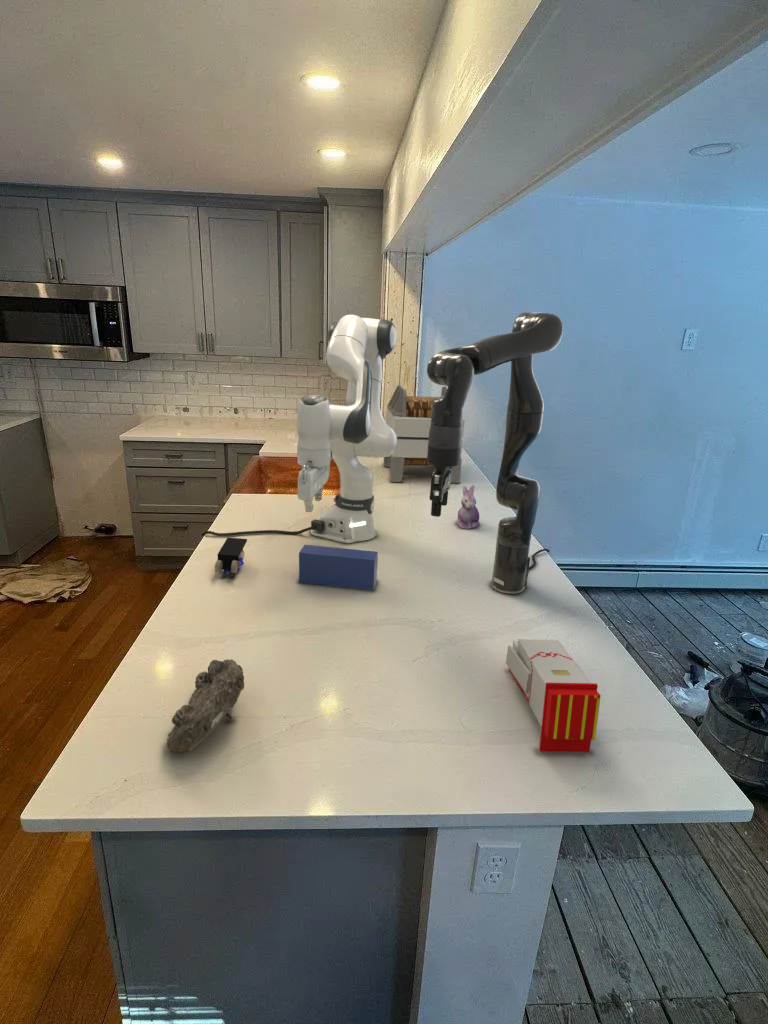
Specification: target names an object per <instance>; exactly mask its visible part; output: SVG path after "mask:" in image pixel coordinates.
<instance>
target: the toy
mask: <svg viewBox="0 0 768 1024" xmlns="http://www.w3.org/2000/svg"><path fill="white" fill-rule="evenodd" d="M505 659H506V660H505V665H506V666H507V667H508V671H509V673H510V674H511V676H512V678H513V679H514V681H515V682H516V685H517V686H518V688H519V690H520V691H521V692H522V694H523V697H525V699H526V701H527V703H529V707H530V709H531V711H532V712H533V714H534V716H535V718H536V720H537V722H538V724H539V726H540V728H541V729H540V739H539V748H538V751H539V752H540V753H543V752H544V753H590V752H591V744H592V743H591V742H592V740H596V736H597V727H598V720H599V719H598V718H599V710H600V704H601V703H600V702H601V696H602V695H601V694H600V693H599V692H598V687H599V686H598V683H595V682H594V683H592V682H591V681H590V679H589V678H588V677H587V676H586V674H585V673H584V671H583V670H582V669H581V668H580V666H579V665H578V664H577V663H576V662H575V661H576V660H574V659H573V658H572V656H571V655H570V653H568V651H567V650H566V648H565V647H564V645H563V644H562V643H561V642H560V641H559V639H529V638H528V639H524V638H521V639H517V640H512V645H511V644H510V645H509V644H508V646H507V653H506V658H505Z"/></svg>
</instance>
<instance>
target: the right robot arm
mask: <svg viewBox="0 0 768 1024" xmlns="http://www.w3.org/2000/svg"><path fill="white" fill-rule="evenodd" d="M511 330H512V331H511V332H509V333H502V334H496V335H493V336H488V337H485V338H482V339H480V340H477V341H474V342H473V343H470V344H468V345H465V346H464V345H463V346H458V347H454V348H453V347H452V348H449V349H444V350H442V351H439V352H437V353H436V354H434V355H433V356H432V357H431V358H430V360H429V361H428V363H427V366H426V374H427V377H428V378H429V380H430V382H432V383H434V384H435V385H439V386H443V387H447V392H446V394H445V396H442V397H441V396H436V397H437V398H435V399H434V400H433V403H432V412H431V424H430V430H429V438H428V452H427V462H428V463H429V464H430V466H432V465H434V466H433V467H435V469H434V471H432V474H431V475H430V478H431V480H430V491H429V500H430V501H431V507H430V516H431V517H437V518H439V517H440V516H441V515H442V507H443V506H444V507H445V506H447V505H448V499H449V498H448V497H449V491H450V489H451V487H450V486H452V483H451V475H452V467H455V466H457V465H458V464H459V462H460V451H461V440H462V439H463V438H462V419H463V414H464V408H465V407H464V406H465V403H466V401H467V399H468V396H469V392H470V390H471V387H472V384H473V381H474V376H477V375H482V374H484V373H486V372H488V371H491V370H493V369H495V368H497V367H500V366H502V365H504V364H507V363H510V380H509V381H510V382H509V393H508V402H507V409H506V419H505V429H504V431H505V432H504V441H503V451H502V456H501V461H500V468H499V473H498V477H497V483H496V488H495V489H496V490H495V496H496V501H497V503H498V504H499V505H501V506H503V507H505V508H508V509H511V510H515V511H516V514H515V515H516V516H508V517H504V518H502V519H500V520H499V522H498V526H497V535H496V542H495V543H496V544H495V550H494V551H495V552H494V560H493V568H492V577H491V582H490V586H491V588H492V589H493V590H495V591H497V592H499V593H502V594H508V595H517V594H520V593H523V592H524V590H525V589H526V588H527V584H528V578H529V577H528V576H529V571H530V570H531V569H533V568H534V567H535V566H536V564H537V561H536V558H535V557H536V556H537V555H539V554H540V553H542V552H547V553H551V552H550V549H548V548H542V549H543V550H542V549H539V550H537V551H536V552H535V553H533V554H532V555H531V557H530V556H529V554H530V547H531V546H530V545H531V540H532V534H533V533H532V532H533V529H534V526H535V522H536V517H537V513H538V512H537V511H538V508H539V507H538V506H539V502H540V496H541V485H540V483H539V482H538V481H537V480H536V479H533V478H530V477H526V476H522V475H519V474H518V473H519V467H520V463H521V459H522V457H523V456H524V454H525V452H526V451H527V450H528V449H529V447H531V446H532V444H533V443H534V441H535V440H536V439H537V438H538V436H539V435H540V432H541V430H542V425H543V418H544V410H545V403H544V399H543V396H542V393H541V390H540V388H539V384H538V383H537V380H536V378H535V374H534V371H533V357H534V356H533V355H536V354H542V353H548V352H551V351H553V350H555V348H557V346H558V345H560V343H561V341H562V338H563V333H564V326H563V322H562V320H561V318H560V317H559V316H558V315H556V314H554V313H552V312H551V313H550V312H538V311H537V312H535V311H525V312H521V313H519V314H518V316H517V317H516V318H515V319H514V322H513V325H512V329H511ZM462 441H463V440H462ZM436 493H438V495H437V494H436ZM531 559H532V561H533V563H532V564H530V563H531Z"/></svg>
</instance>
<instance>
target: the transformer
mask: <svg viewBox="0 0 768 1024" xmlns="http://www.w3.org/2000/svg"><path fill="white" fill-rule="evenodd" d="M447 389H448V386H442V387H441V392H440V393H441V394H440V397H442V396H445V394H446V392H447ZM407 394H408V393H407V390H406V389H404V388H403V387H402V385H399V384H398V385H397V386H396V388H395V390H394V392H393V394H392V395H391V398H390V400H389V402H388V404H387V405H386V413H385V414H386V415H385V422H386V423H387V424H388V425H389V426H390V427H391V428H392V429H393V430H394V432H395V434H396V437H397V446H396V449H395V451H394V452H393V453H392V454H391V455H390V456H389V457H383V466H384V467H388V468H389V475H388V476H389V477H388V478H389V480H390V482H391V483H402V482H403V475H404V469H405V466H406V467H407V466H411V467H412V466H413V467H415V466H416V467H417V466H418V467H435V466H434V465H430V464H429V463H428V462H427V452H428V438H429V430H430V424H431V412H432V403H433V400H434V399H435V398H437V397H438V396H415V395H414V396H413V395H412V396H411V395H407ZM464 429H465V419H464V418H462V439H463V438H464V431H465V430H464ZM463 442H464V441H463V440H461V451H460V462H459V464H458V465H457V466H455V467H452V475H451V484H455V483H456V484H459V483H461V472H462V461H463V460H462V453H463Z"/></svg>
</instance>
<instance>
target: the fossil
mask: <svg viewBox="0 0 768 1024" xmlns="http://www.w3.org/2000/svg"><path fill="white" fill-rule="evenodd" d="M243 670H244V669H243V667H242V665H240V664H237V662H236V661H235V660H234V659H232V658H231V659H227V658H226V659H224V660H223V661H222V660H217V659H212V660H211V661H210V663H209V665H208V666H207V671H201V672H199V673H198V674H197V675H196V676H195V680H194V684H195V685H194V687H195V689H194V690H193V693H192V694H191V697H190V698H189V700H188V704H184V705H182V706H181V707H180V709H177V710H176V711H175V713H174V715H173V716H172V718H171V723H172V724H173V727H172V730H171V731H170V732H168V734H167V738H166V741H167V742H166V745H167V749H168V750H169V751H173V752H174V753H176V754H178V753H182V752H188V751H189V752H192V751H193V750H195V748H196V747H197V746H199V744H200V743H201V742H203V741H204V740H205V739H206V738H207V737H208V736H209V735H210V734H211V733H212V732H214V730H215V729H217V727H218V726H219V724H220V722H221V721H222V720H223V719H224V718H225V716H226V717H227V719H229V720H233V717H232V715H230V714H229V710H230V709H231V708H234V706H235V704H236V703H237V702H238V699H239V697H240V695H241V693H242V691H243V690H245V689H244V688H245V675H244V671H243Z"/></svg>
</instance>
